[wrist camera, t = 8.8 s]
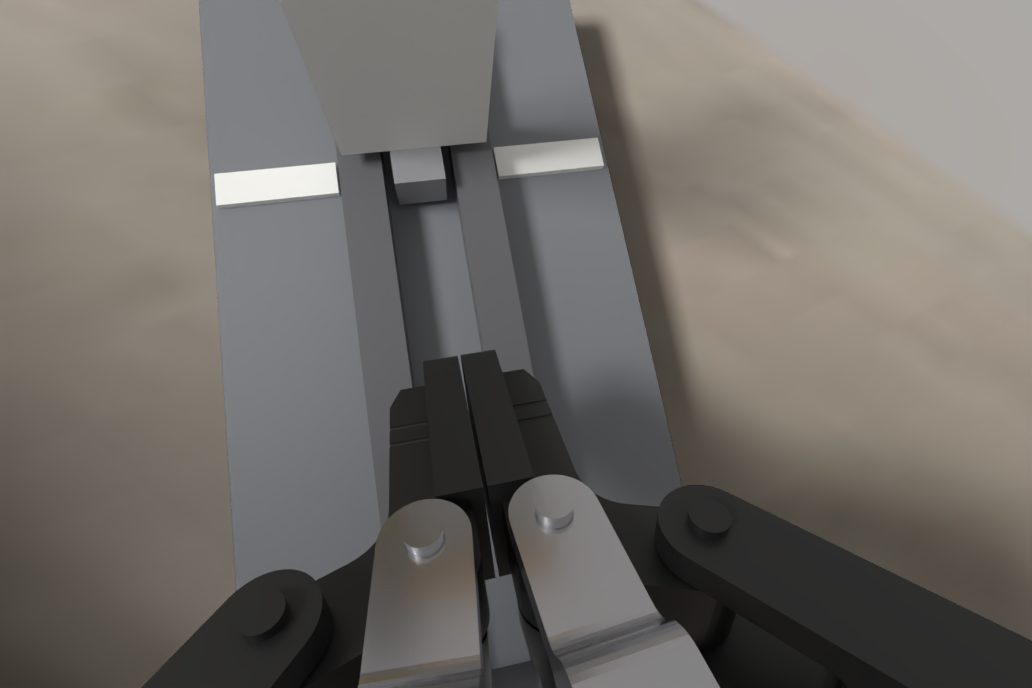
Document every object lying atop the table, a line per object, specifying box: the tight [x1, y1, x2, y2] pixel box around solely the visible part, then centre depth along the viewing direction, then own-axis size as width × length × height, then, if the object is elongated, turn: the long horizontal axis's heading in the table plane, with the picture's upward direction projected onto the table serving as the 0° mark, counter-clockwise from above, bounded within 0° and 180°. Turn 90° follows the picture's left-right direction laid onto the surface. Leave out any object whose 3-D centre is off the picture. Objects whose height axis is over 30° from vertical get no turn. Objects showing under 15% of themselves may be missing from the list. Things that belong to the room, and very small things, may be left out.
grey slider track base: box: [199, 0, 682, 688], centre depth 15 cm, size 24×12×4 cm, turn 10°
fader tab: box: [279, 0, 498, 205], centre depth 10 cm, size 4×4×10 cm
